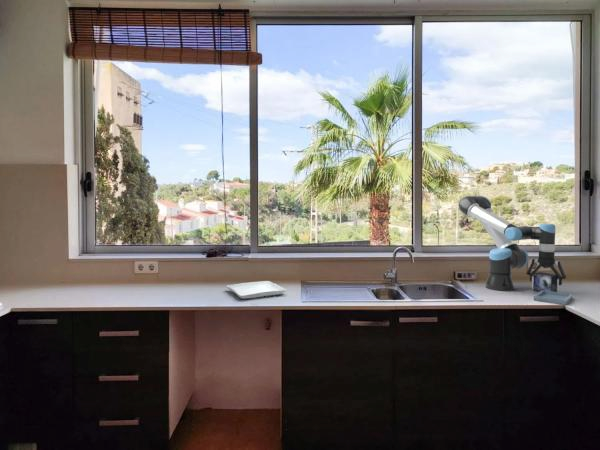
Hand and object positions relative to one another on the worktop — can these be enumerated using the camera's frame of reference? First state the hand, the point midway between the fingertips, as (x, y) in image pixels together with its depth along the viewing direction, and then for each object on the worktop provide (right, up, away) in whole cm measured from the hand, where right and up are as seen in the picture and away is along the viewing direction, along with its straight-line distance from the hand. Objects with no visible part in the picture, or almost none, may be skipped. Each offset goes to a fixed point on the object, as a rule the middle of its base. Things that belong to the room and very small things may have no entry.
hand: (545, 288), depth 216 cm
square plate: (-166, -3, +1) cm, 166 cm away
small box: (0, -2, 0) cm, 2 cm away
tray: (-6, -3, -16) cm, 18 cm away
